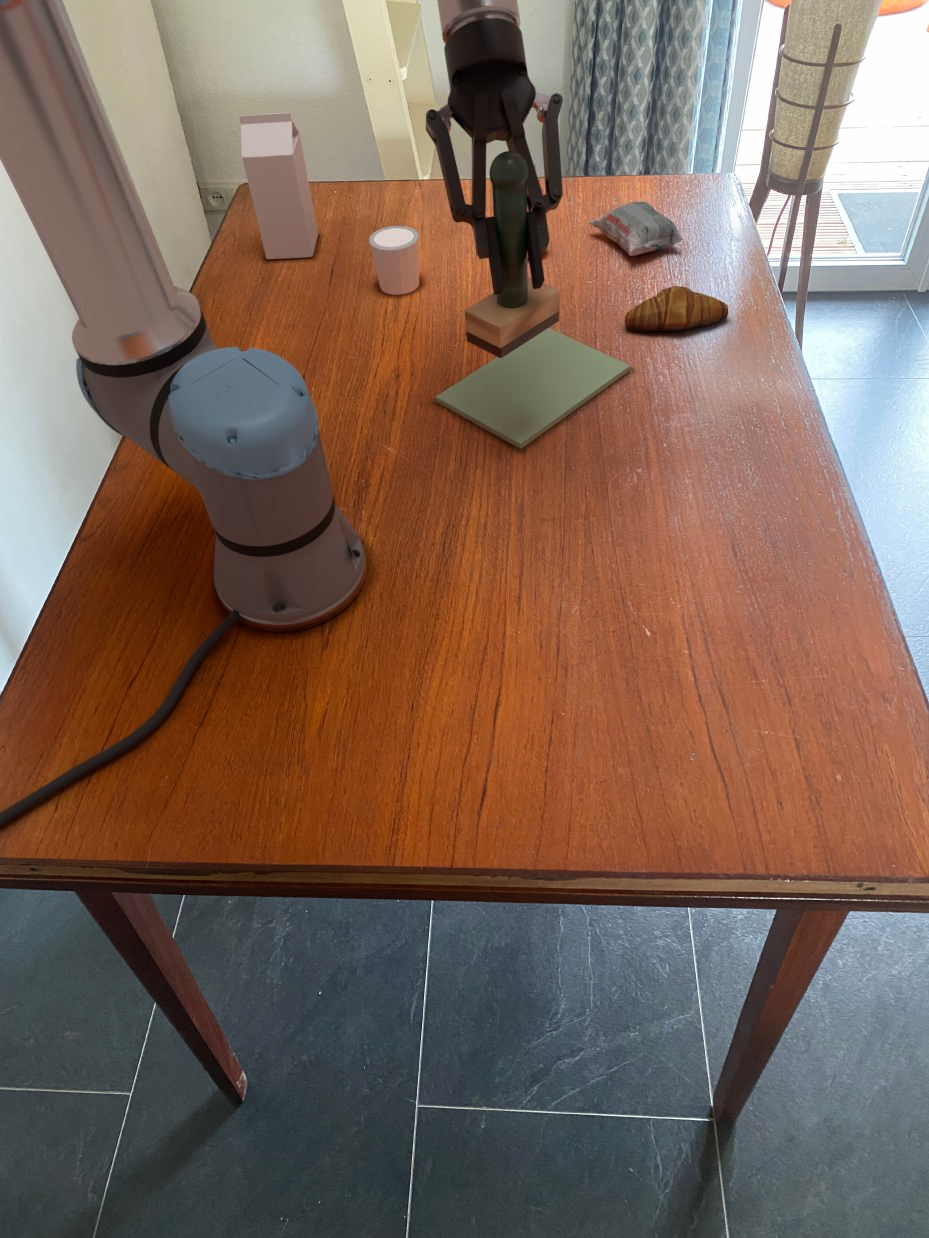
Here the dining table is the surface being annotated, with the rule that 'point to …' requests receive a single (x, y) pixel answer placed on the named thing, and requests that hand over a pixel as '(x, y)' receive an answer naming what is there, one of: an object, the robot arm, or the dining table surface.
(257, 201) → the milk carton
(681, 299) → the croissant
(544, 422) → the mat
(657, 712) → the dining table surface
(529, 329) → the scrub brush
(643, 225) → the packaged food
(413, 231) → the yogurt cup
